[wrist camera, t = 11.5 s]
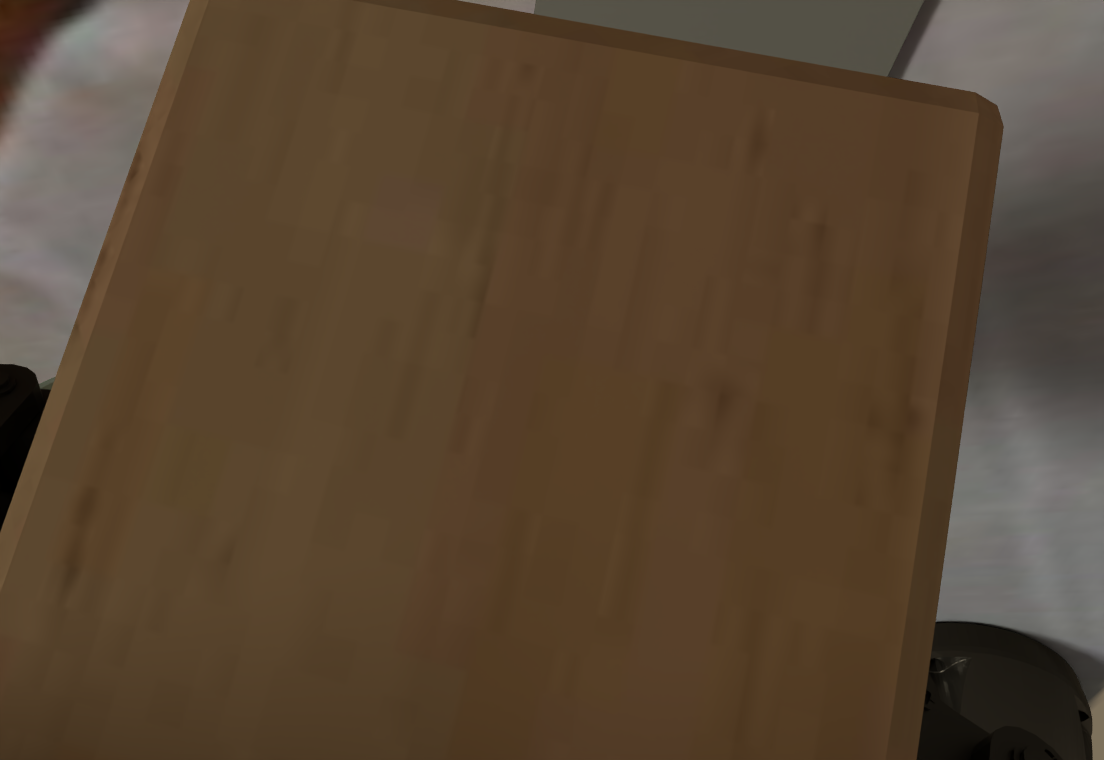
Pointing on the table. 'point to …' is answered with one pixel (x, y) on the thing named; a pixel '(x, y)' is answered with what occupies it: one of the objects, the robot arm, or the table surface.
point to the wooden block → (502, 402)
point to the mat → (763, 26)
